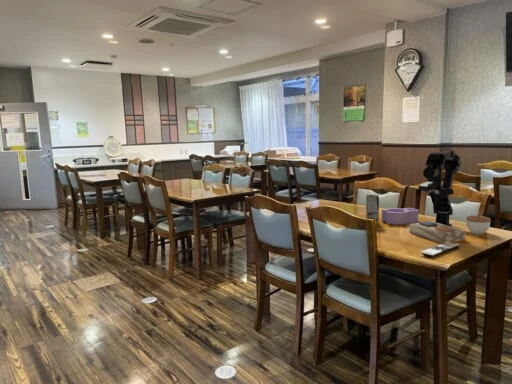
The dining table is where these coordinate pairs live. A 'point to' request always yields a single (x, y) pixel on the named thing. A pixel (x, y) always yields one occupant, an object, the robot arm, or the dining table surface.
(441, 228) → the terracotta button
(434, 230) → the button console
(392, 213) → the mauve piece
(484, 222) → the lidded jar
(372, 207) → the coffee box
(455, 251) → the dining table surface
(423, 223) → the charcoal button
